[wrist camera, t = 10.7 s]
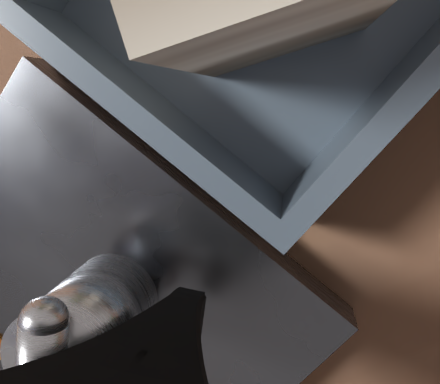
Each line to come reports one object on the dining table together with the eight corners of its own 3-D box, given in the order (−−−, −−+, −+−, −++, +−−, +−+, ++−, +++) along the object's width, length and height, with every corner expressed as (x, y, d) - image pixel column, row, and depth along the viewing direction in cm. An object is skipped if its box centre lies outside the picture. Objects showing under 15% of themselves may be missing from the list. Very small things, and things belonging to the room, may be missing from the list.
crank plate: (-94, 300, 16) (-128, 318, 14) (47, 59, 12) (20, 56, 11) (151, 497, 16) (139, 531, 15) (352, 308, 13) (359, 331, 11)
